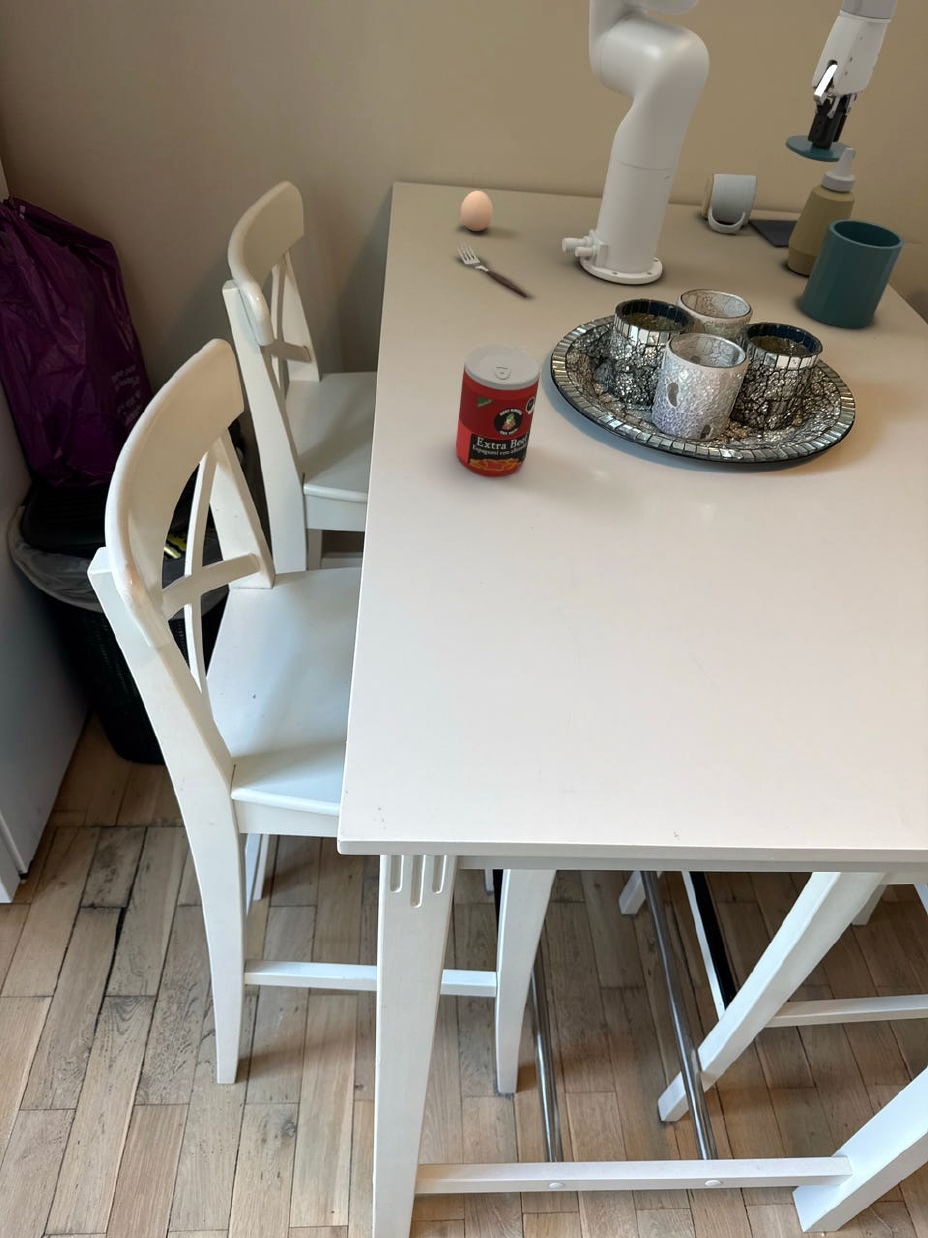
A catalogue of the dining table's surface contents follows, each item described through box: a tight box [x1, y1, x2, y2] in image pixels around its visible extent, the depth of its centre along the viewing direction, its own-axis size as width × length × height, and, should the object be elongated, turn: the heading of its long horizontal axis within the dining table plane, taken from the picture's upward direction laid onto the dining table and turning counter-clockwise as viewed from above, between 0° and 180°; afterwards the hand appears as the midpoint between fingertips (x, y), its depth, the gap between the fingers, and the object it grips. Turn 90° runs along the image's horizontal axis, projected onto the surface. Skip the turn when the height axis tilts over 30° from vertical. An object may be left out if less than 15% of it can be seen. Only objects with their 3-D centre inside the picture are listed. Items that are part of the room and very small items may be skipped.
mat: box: [747, 219, 798, 248], centre depth 153 cm, size 11×11×1 cm
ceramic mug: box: [700, 173, 758, 234], centre depth 151 cm, size 11×8×8 cm
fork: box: [455, 242, 528, 297], centre depth 129 cm, size 3×16×2 cm, turn 36°
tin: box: [799, 218, 906, 329], centre depth 127 cm, size 10×10×12 cm
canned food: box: [455, 344, 541, 477], centre depth 91 cm, size 8×8×11 cm
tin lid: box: [784, 109, 857, 163], centre depth 142 cm, size 11×11×6 cm
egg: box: [460, 190, 494, 232], centre depth 139 cm, size 5×5×6 cm
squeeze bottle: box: [787, 147, 856, 276], centre depth 136 cm, size 8×8×18 cm
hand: (822, 139), depth 143 cm, fingers closed on tin lid, 3 cm apart
